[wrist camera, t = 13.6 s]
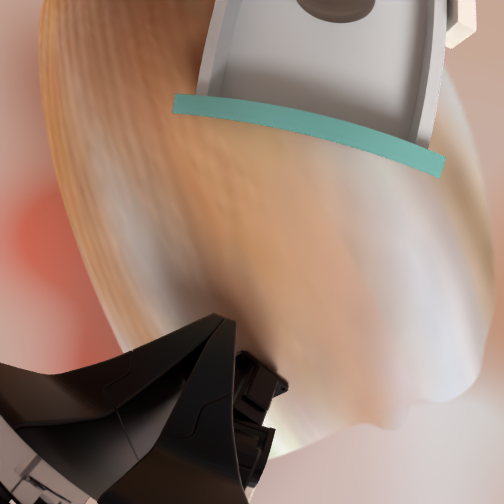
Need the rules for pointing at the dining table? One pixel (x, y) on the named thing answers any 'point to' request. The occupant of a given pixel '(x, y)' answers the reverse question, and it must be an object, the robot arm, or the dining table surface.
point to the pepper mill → (337, 9)
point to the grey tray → (328, 74)
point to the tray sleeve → (460, 21)
